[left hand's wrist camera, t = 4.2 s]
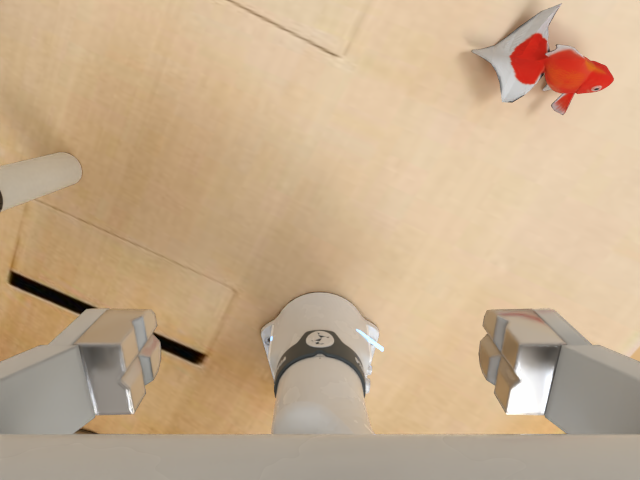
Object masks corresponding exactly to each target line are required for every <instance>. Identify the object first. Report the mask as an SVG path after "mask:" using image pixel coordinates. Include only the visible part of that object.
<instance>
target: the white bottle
mask: <svg viewBox="0 0 640 480" xmlns="http://www.w3.org/2000/svg"><path fill="white" fill-rule="evenodd" d="M81 176H82V168H81V165H80V163H79V161H78V160H77V159H76V158H75V157H74V156H72V155H71V154H68V153H65V152H58V153H54V154H50V155H46V156H41V157H37V158H33V159H29V160H24V161H20V162H16V163H12V164H7V165H3V166H0V191H1V194H2V197H3V207H2V210H1V211H4V210H7V209H9V208H12V207H15V206H17V205H20V204H23V203H25V202H28V201H31V200H33V199H36V198H39V197H41V196H44V195H47V194H49V193H52V192H54V191H57V190H60V189H62V188H65V187H68V186H70V185H73V184H75V183H77V182H78V181H79V180H80V179H81Z"/></svg>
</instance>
